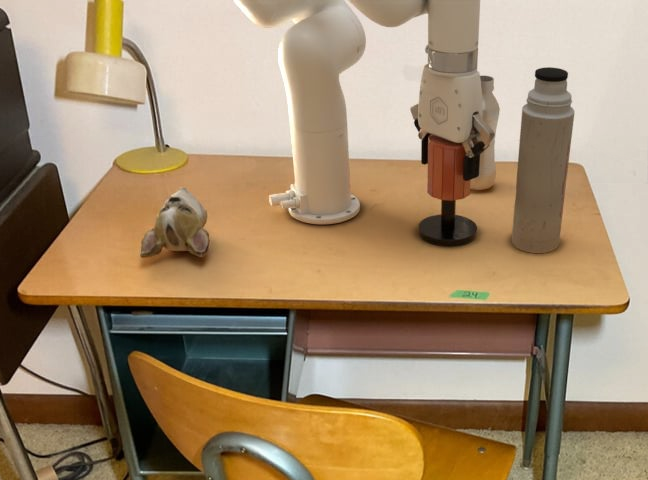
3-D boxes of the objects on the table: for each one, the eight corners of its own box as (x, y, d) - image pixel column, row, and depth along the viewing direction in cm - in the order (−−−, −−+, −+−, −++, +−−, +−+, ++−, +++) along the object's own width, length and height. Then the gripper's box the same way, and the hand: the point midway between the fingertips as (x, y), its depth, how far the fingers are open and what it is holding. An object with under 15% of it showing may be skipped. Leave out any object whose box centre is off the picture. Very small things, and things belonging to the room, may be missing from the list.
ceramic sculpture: (214, 177, 139) (199, 222, 127) (222, 224, 144) (209, 271, 133) (148, 177, 138) (127, 223, 127) (159, 225, 144) (140, 272, 132)
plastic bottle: (501, 185, 161) (509, 77, 149) (483, 197, 156) (490, 86, 144) (472, 177, 164) (477, 70, 151) (454, 188, 159) (457, 79, 147)
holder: (434, 251, 139) (435, 156, 129) (408, 226, 146) (408, 135, 136) (487, 240, 143) (493, 147, 133) (460, 216, 150) (463, 126, 140)
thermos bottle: (561, 234, 145) (581, 65, 128) (556, 255, 139) (577, 81, 122) (514, 229, 146) (528, 61, 129) (508, 250, 140) (522, 76, 123)
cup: (439, 203, 136) (440, 148, 130) (420, 187, 141) (421, 133, 135) (477, 196, 138) (480, 142, 133) (458, 180, 143) (459, 127, 138)
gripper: (394, 52, 129) (396, 161, 140) (479, 77, 120) (474, 192, 131) (428, 43, 134) (427, 149, 144) (513, 67, 124) (505, 179, 135)
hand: (449, 169), depth 137 cm, fingers open, 8 cm apart
